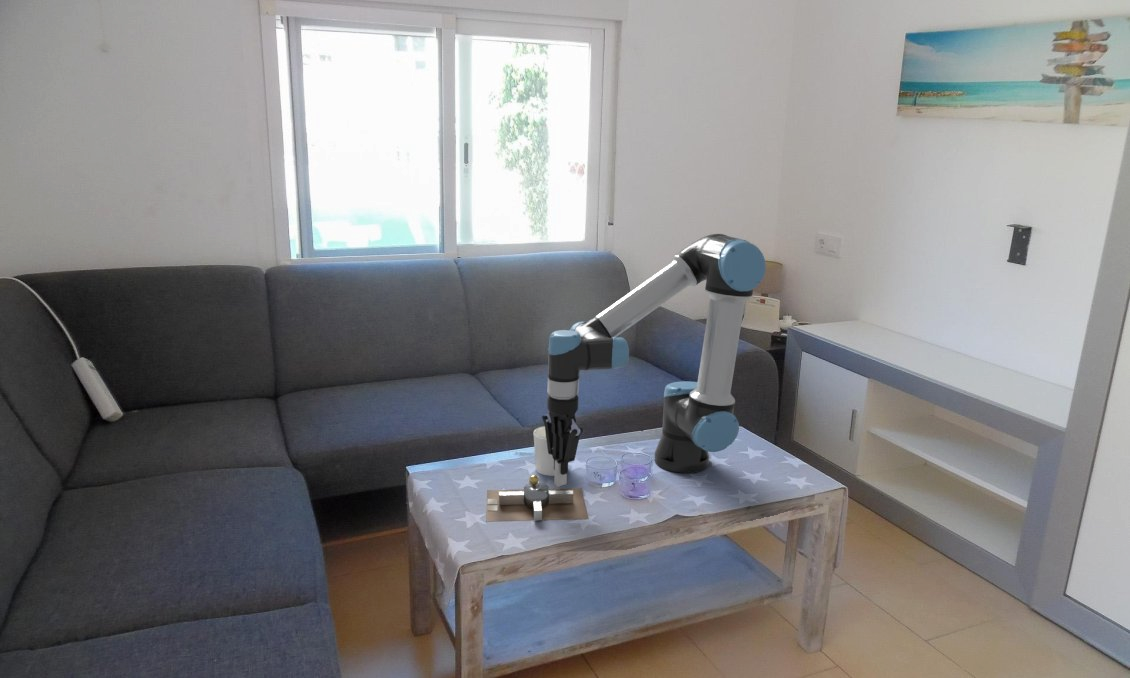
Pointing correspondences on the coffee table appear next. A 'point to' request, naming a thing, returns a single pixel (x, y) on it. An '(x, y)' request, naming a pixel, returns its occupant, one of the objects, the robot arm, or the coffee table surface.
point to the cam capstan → (536, 496)
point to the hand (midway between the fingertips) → (560, 484)
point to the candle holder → (542, 453)
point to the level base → (526, 514)
